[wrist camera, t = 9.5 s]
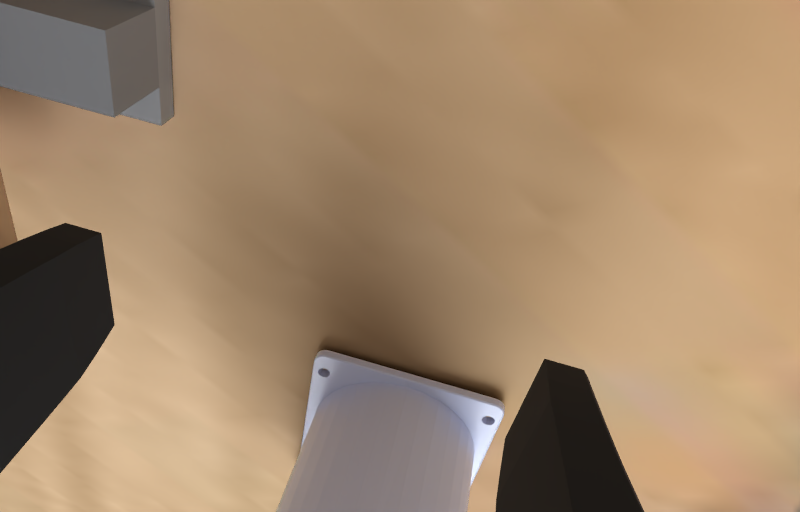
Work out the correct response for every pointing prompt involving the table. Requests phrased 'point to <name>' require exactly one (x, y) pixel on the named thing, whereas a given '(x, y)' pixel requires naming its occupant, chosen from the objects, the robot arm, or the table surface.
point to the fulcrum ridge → (90, 54)
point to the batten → (5, 219)
